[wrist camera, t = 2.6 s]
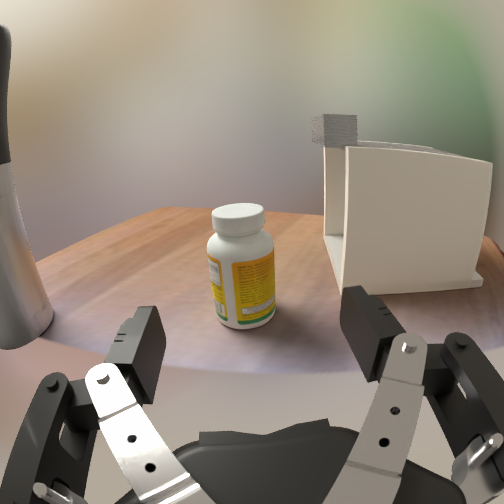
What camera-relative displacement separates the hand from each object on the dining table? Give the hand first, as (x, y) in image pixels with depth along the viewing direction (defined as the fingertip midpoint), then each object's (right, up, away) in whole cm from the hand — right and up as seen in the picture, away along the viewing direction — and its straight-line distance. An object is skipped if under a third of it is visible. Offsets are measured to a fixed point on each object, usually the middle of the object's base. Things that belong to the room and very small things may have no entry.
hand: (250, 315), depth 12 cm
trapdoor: (+15, +13, +15) cm, 25 cm away
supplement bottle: (0, -3, +14) cm, 14 cm away
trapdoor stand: (+18, +2, +21) cm, 28 cm away
